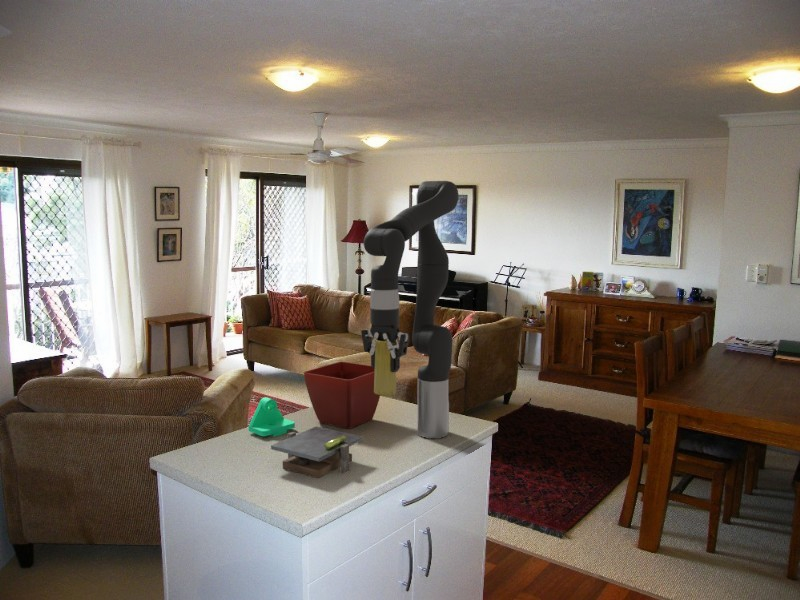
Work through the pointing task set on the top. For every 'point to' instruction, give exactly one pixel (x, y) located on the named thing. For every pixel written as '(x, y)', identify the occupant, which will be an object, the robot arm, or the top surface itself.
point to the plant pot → (342, 393)
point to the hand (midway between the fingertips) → (385, 370)
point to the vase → (383, 370)
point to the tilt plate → (316, 443)
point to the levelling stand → (319, 463)
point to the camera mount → (269, 419)
